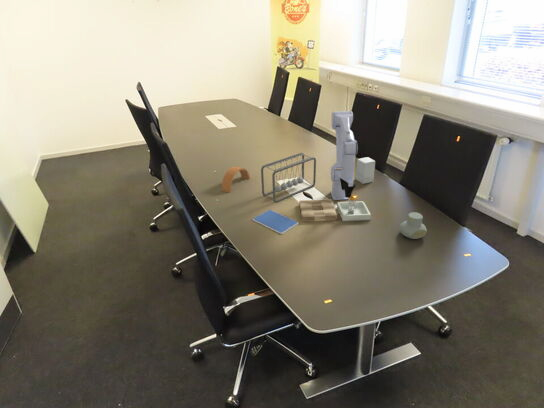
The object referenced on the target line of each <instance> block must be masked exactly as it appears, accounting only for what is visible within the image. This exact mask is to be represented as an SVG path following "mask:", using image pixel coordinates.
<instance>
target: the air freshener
mask: <svg viewBox="0 0 544 408" xmlns="http://www.w3.org/2000/svg"><path fill="white" fill-rule="evenodd" d="M423 218H424V216H423V215H422V214H421V213H420V212H417V211H415V212H414V211H412V212H409V213H408V214H407V219H406V220H404V221H403V222H401V223H400V225H399V231H400V233H401V235H403V236H405V237H406V238H408V239H413V240H417V239H422V238H423V237H424V236H426V234H427V231H428V229H427V227H426V225H425V224H423Z"/></svg>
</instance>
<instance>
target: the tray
mask: <svg viewBox="0 0 544 408" xmlns="http://www.w3.org/2000/svg"><path fill="white" fill-rule="evenodd" d="M336 207H337V211H338V213H339V216H340V218H341V220H342V222H355V221H356V222H358V221H359V222H360V221H362V222H363V221H371V218H372V215H371V212H370V210H369V209H368V206H367V205H366V203H365V202H364V201H362V200H360V201H359V200H358V201H357V200H356V203H355V213H354V214H349V213H348V209H349V201H340V202H339V201H338V202H337V205H336Z"/></svg>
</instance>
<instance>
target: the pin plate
mask: <svg viewBox="0 0 544 408" xmlns="http://www.w3.org/2000/svg"><path fill="white" fill-rule="evenodd" d="M299 209H300V214H301V219H302V222H319V221H323V222H324V221H338V220H337V219H338V214H337V212H336V209H335V206H334V203H333V201H332V199H331V198H330V199H329V198H328V199H325V198H324V199H307V200H305V199H303V200H299Z"/></svg>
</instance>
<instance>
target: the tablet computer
mask: <svg viewBox="0 0 544 408" xmlns="http://www.w3.org/2000/svg"><path fill="white" fill-rule="evenodd" d="M252 221H253V222H255V223H258V224H259V225H261V226H263V227H265V228H267V229H269V230H271V231H273V232H276V233H277V234H280V235H284V234H286V233H287V232H289V231H290V230H292V229H293V228H295V227H296V226H298V225H299V222H298V221H297V220H294V219H292V218H290V217H288V216H286V215H283V214H281V213H279V212H276V211H274V210H272V209H267V210H266V211H264V212H262V213H261V214H259V215H257V216H255V217H254V218H252Z"/></svg>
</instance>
